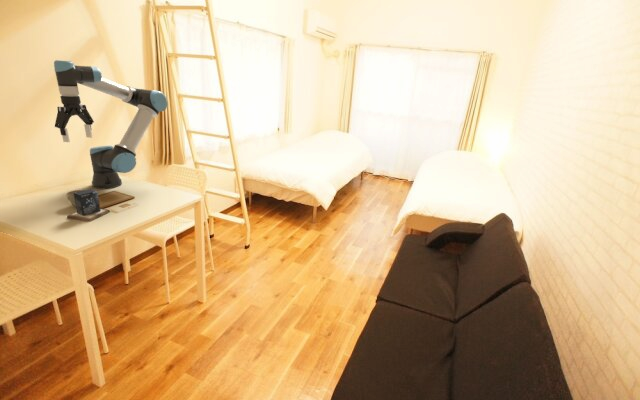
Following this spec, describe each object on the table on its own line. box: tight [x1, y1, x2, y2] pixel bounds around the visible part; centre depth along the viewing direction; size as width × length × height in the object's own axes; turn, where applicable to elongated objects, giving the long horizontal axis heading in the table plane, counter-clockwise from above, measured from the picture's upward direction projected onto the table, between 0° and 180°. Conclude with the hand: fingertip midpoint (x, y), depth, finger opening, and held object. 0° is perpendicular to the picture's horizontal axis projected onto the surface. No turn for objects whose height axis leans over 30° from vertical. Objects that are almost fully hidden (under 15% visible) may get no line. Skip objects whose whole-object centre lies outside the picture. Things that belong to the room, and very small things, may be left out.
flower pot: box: [65, 189, 84, 208], centre depth 167 cm, size 10×10×7 cm
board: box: [66, 207, 111, 222], centre depth 158 cm, size 12×12×1 cm
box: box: [73, 188, 101, 216], centre depth 157 cm, size 8×6×11 cm
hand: (78, 139), depth 167 cm, fingers open, 13 cm apart
